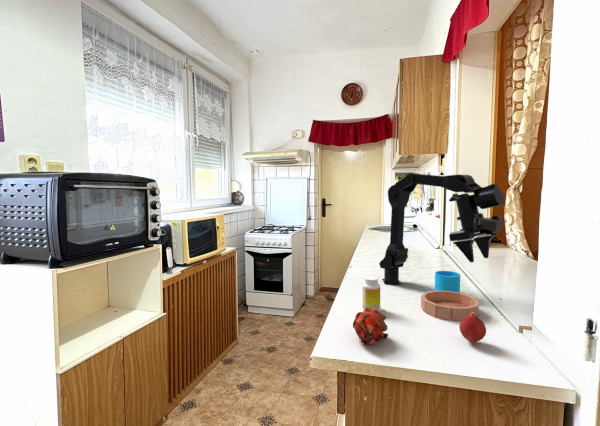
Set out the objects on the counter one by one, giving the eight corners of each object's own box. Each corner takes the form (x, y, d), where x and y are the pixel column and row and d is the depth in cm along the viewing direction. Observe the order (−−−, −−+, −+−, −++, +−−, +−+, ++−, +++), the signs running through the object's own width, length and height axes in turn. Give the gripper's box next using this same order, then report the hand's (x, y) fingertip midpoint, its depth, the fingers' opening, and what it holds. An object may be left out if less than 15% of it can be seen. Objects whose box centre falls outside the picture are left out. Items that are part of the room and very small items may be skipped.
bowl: (415, 301, 109) (416, 290, 109) (464, 302, 107) (465, 290, 107) (430, 320, 93) (430, 307, 93) (488, 322, 92) (488, 308, 91)
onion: (454, 338, 82) (455, 308, 82) (475, 337, 83) (476, 307, 82) (468, 349, 76) (468, 317, 76) (490, 348, 77) (491, 316, 76)
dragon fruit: (374, 334, 88) (371, 363, 77) (349, 315, 89) (342, 341, 78) (394, 314, 85) (393, 340, 74) (367, 294, 86) (362, 318, 75)
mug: (460, 301, 109) (461, 277, 108) (434, 298, 112) (434, 275, 111) (458, 290, 120) (458, 269, 119) (434, 288, 123) (435, 267, 122)
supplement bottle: (383, 311, 101) (384, 279, 100) (368, 313, 99) (368, 281, 98) (374, 305, 106) (374, 275, 105) (359, 307, 104) (359, 276, 103)
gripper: (479, 208, 92) (491, 262, 90) (508, 205, 102) (520, 254, 100) (443, 215, 101) (454, 265, 99) (473, 212, 111) (484, 256, 109)
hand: (479, 260), depth 102 cm, fingers open, 9 cm apart
